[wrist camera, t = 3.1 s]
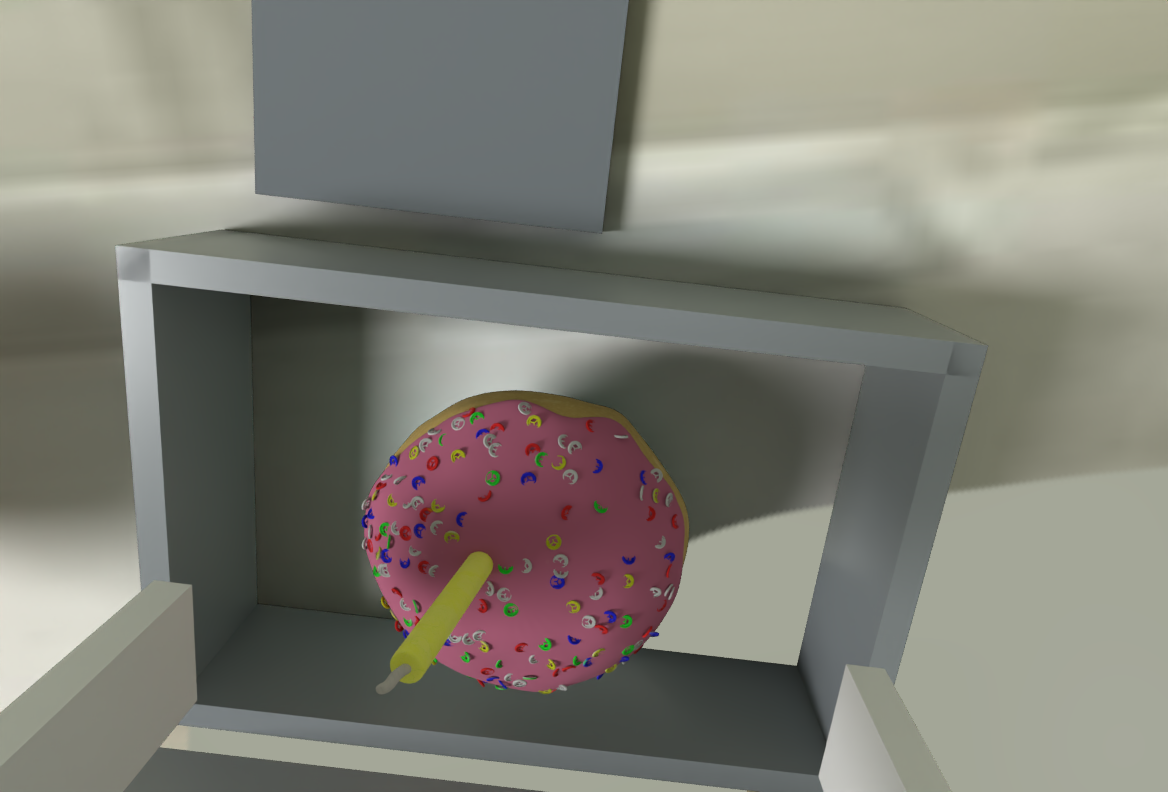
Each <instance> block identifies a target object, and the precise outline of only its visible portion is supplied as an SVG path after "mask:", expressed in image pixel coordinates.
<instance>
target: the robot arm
mask: <svg viewBox="0 0 1168 792" xmlns="http://www.w3.org/2000/svg"><path fill="white" fill-rule="evenodd" d="M196 701H197V684H196V662H195V640H194V618H193V596H192V585H190V584H181V583H173V582H165V581H157V580H154V581H153V582H151V583H150V584H149V585H148V586H147V587H146V588H145V589H143V590H142V591H141V592H140V593H139V594H138V595H136V596H135V597H134V598H133V599H132V600H131V601H129V602H128V603H127V604H126V605H125V606H124V607H122V608H121V609H120V610H119V611H118V612H117V613H116V614H114V615H113V616H112V617H111V618H110V619H109V620H107V621H106V622H105V623H104V624H103V625H102V626H100V627H99V628H98V629H97V630H96V631H95V632H93V633H92V634H91V635H90V636H89V637H88V638H87V639H85V640H84V641H83V642H82V643H81V644H80V645H78V646H77V647H76V648H75V649H74V650H73V651H71V652H70V653H69V654H68V655H67V656H66V657H64V658H63V659H62V660H61V661H60V662H59V663H58V664H56V665H55V666H54V667H53V668H52V669H51V670H49V671H48V672H47V673H46V674H45V675H44V676H42V677H41V678H40V679H39V680H38V681H37V682H35V683H34V684H33V685H32V686H31V687H30V688H29V689H27V690H26V691H25V692H24V693H23V694H22V695H20V696H19V697H18V698H17V699H16V700H15V701H13V702H12V703H11V704H10V705H9V706H8V707H6V708H5V709H4V710H3V711H2V712H1V713H0V792H123V791H124V790H125V789H126V788H127V786H128V785H129V784H130V783H131V781H132V780H133V779H134V778H135V776H136V775H137V774H138V773H139V772H140V770H141V769H142V768H143V767H144V765H145V764H146V763H147V762H148V760H149V759H150V758H151V757H152V755H153V754H154V753H155V752H156V751H157V749H158V748H159V747H160V746H161V744H162V743H163V742H164V741H165V739H166V738H167V737H168V736H169V734H170V733H171V732H172V731H173V730H174V728H175V727H176V726H177V725H178V723H179V722H180V721H181V720H182V718H183V717H184V716H185V715H186V713H187V712H188V711H189V710H190V709H191V707H192V706H193V705H194V704H195V702H196ZM818 777H819V780H820V783H821V786H822V789H823V792H952V791H951V789H950V787H949V785H948V783H947V781H946V780H945V778H944V776H943V774H942V772H941V770H940V769H939V767H938V765H937V763H936V761H935V760H934V758H933V756H932V754H931V752H930V750H929V749H928V747H927V745H926V743H925V742H924V740H923V738H922V736H921V734H920V732H919V730H918V729H917V727H916V725H915V723H914V721H913V720H912V718H911V716H910V714H909V712H908V710H907V709H906V707H905V705H904V703H903V701H902V699H901V698H900V696H899V694H898V692H897V691H896V689H895V687H894V685H893V683H892V681H891V679H890V678H889V676H888V674H887V672H886V670H885V669H882V668H874V667H866V666H858V665H849V664H846V666H845V671H844V675H843V679H842V683H841V687H840V691H839V695H838V699H837V703H836V707H835V711H834V715H833V719H832V723H831V727H830V731H829V735H828V739H827V743H826V748H825V752H824V756H823V760H822V764H821V768H820V772H819V776H818Z"/></svg>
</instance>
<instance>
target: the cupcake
mask: <svg viewBox="0 0 1168 792" xmlns="http://www.w3.org/2000/svg"><path fill="white" fill-rule="evenodd" d="M365 503H366V504H365ZM366 505H367V506H366ZM362 510H366V513H365V516H364V517H363V518H362V526H363V527H364V540H363V542H362V548H363V549H364V550H366V552H367V555H368V558H369V561H370V564H371V567H372V570H373V574H374V576H375V579H376V581H377V583H378V586H379V588H380V590H381V592H382V594H383V596H382V598H381V603H382V605H383V607H384V608H386V609H389V608H391V610H390V612H391V614H392V616H393V617H394V618H395V619H396V622H395V629H396V630H397V631H398V632H401V631H403V636H404V638H405V640H404V642H403V643H402V644H401V646H400V647H399V648H398V650H397V651H396V652H395V654H394V655H393V657H392V659H391V661H390V669H391V673H390V675H389V676H388V677H387V679H386V680H385V681H384V682H382V683H380V684H379V685H377V686H376V692H377V693H378V694H386V693H388V692H390V691H391V690H392V689H393V688H394V687H395V686H396V685H397V683H398V682H399V681H401V682H403V683H407V684H411V683H415V682H417V681H419V680H420V679H421V678H422V677H423V675H424V674H425V672H426V671H427V669H428V668H429V666H430V665H431V663H432V664H433V665H436V664H437V661H438V662H440V663H442V664H444V665H445V666H447V667H449V668H451V669H453V670H455V671H457V672H459V673H461V674H464V675H466V676H467V677H468V678H472V679H477V681H478V682H479V683H480V684H481V686H482V687H485V684H484V683H491V684H495V688H496V689H499V690H506V689H508V688H512V689H517V690H523V691H530V692H540V693H542V694H549V693H552V692H554V691H556V690H557V689H558V690H561V691H566V690H567V687H566V686H570V685H573V684H577V683H580V682H583V681H586V680H589V679H591V678H594V677H596V676H597V680H599V679H600V678H601V677H602V676H603V674H604V673H605V672H606V673H610V672H612V671H614V670H615V669H616V668H617V665H618V664H620V663H621V662H622V664H626V662H627V661H628V660H629V657H630V655H632V654H633V653H634V654H636V653H637V652H638V651H639V650H640V649H641V648H642V646H643V644H644V643H645V642H646V641H647V640H648V639H649V637H655V636H658V635H659V633H657V632H655V630H656V629H657V628H658V626H659V625H660V623H661V622H662V620H663V618H664V617H665V615H666V614H667V612H668V610H669V609H670V607H671V605H672V603H673V601H674V599H675V597H676V594H677V591H678V588H679V584H680V579H681V575H682V567H683V564H684V560H685V556H686V552H687V547H688V540H689V519H688V513H687V509H686V506H685V503H684V501H683V498H682V496H681V494H680V492H679V491H678V489H677V487H676V485H675V484H674V482H673V481H672V479H671V477H670V476H669V474H668V473H667V471H666V470H665V468H664V467H663V466H662V464H661V463H660V461H659V460H658V458H657V457H656V455H655V454H654V453H653V451H652V450H651V449H650V447H649V446H648V445H647V443H646V442H645V441H644V440H643V438H642V437H641V436H640V434H639V433H638V432H637V431H636V429H635V428H634V427H633V426H632V424H631V423H630V422H629V421H628V420H627V419H626V418H625V417H624V416H623V415H622V414H620V413H619V412H617V411H616V410H614V409H611V408H608V407H605V406H601V405H596V404H592V403H588V402H584V401H581V400H577V399H574V398H570V397H565V396H560V395H554V394H548V393H541V392H533V391H517V390H513V391H498V392H490V393H484V394H480V395H476V396H472V397H469V398H466V399H464V400H461V401H459V402H457V403H455V404H454V405H452V406H450V407H448V408H447V409H445V410H444V411H442V412H440V413H439V414H437V415H436V416H434V417H433V418H431V419H429V420H428V421H426V422H425V423H423V424H422V425H420V426H419V427H418V428H417V429H416V430H415V431H414V432H413V433H412V434H411V435H410V436H409V437H408V439H407V440H406V441H405V442H404V443H403V445H402V446H401V447H400V448H399V449H398V451H397V452H396V453H395V454H394V455H393V456H391V457H390V461H389V463H388V465H387V466H386V468H385V471H384V472H383V473H382V474H381V475H380V477H379V478H378V480H377V481H376V482H375V484H374V485H373V487H372V489H371V491H370V494H369V497H367V498H366V499H365V500H364V501H363V503H362ZM385 599H386V600H385ZM384 601H385V602H386V604H385V603H384ZM387 603H388V605H387ZM398 622H400V624H398ZM398 625H399V626H400V628H398ZM401 625H402V626H401ZM403 629H404V630H403ZM406 634H407V635H408V637H407V636H406ZM499 686H501V687H499ZM545 691H546V692H545Z"/></svg>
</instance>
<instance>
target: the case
mask: <svg viewBox="0 0 1168 792" xmlns="http://www.w3.org/2000/svg"><path fill="white" fill-rule="evenodd" d="M115 249H116V262H117V276H118V289H119V302H120V315H121V329H122V342H123V355H124V368H125V382H126V395H127V408H128V421H129V435H130V448H131V461H132V474H133V488H134V501H135V514H136V527H137V541H138V554H139V567H140V580H141V591H142V590H143V589H145V588H146V587H147V586H148V585H149V584H150V583H151V582H153V581H154V580H157V581H165V582H173V583H181V584H190V585H192V596H193V618H194V640H195V662H196V684H197V701H196V702H195V704H194V705H193V706H192V707H191V709H190V710H189V711H188V712H187V713H186V715H185V716H184V717H183V718H182V720H181V721H180V722H179V723H178V725H183V726H191V727H200V728H209V729H218V730H226V731H235V732H244V733H253V734H261V735H270V736H279V737H287V738H297V739H305V740H313V741H322V742H331V743H340V744H348V745H358V746H366V747H374V748H384V749H392V750H400V751H409V752H418V753H426V754H435V755H445V756H453V757H461V758H470V759H479V760H488V761H497V762H506V763H513V764H523V765H531V766H540V767H549V768H558V769H566V770H575V771H583V772H592V773H601V774H610V775H618V776H627V777H635V778H644V779H653V780H662V781H671V782H679V783H687V784H696V785H705V786H713V787H723V788H731V789H740V790H747V792H823V789H822V786H821V783H820V780H819V777H818V776H819V772H820V768H821V764H822V760H823V756H824V752H825V748H826V743H827V739H828V735H829V731H830V727H831V723H832V719H833V715H834V711H835V707H836V703H837V699H838V695H839V691H840V687H841V683H842V679H843V675H844V671H845V666H846V664H849V665H858V666H866V667H874V668H882V669H885V670H886V672H887V674H888V676H889V678H890V679H891V681H892V683H893V685H894V684H895V680H896V676H897V673H898V669H899V666H900V662H901V658H902V655H903V651H904V648H905V644H906V640H907V637H908V633H909V630H910V626H911V622H912V619H913V615H914V612H915V608H916V604H917V601H918V597H919V594H920V590H921V586H922V583H923V579H924V575H925V572H926V568H927V565H928V561H929V557H930V554H931V550H932V547H933V543H934V539H935V536H936V532H937V529H938V525H939V521H940V518H941V514H942V511H943V507H944V503H945V499H946V496H947V493H948V489H949V485H950V482H951V478H952V475H953V471H954V467H955V464H956V460H957V457H958V453H959V449H960V446H961V442H962V439H963V435H964V431H965V428H966V424H967V421H968V417H969V413H970V410H971V406H972V402H973V399H974V395H975V392H976V388H977V384H978V381H979V377H980V374H981V370H982V366H983V363H984V359H985V356H986V352H987V348H988V345H986V344H983V343H981V342H979V341H977V340H975V339H972V338H970V337H968V336H966V335H964V334H962V333H959V332H957V331H955V330H953V329H951V328H948V327H946V326H944V325H942V324H940V323H938V322H935V321H933V320H931V319H929V318H927V317H924V316H922V315H920V314H918V313H916V312H913V311H911V310H909V309H907V308H900V307H892V306H883V305H874V304H865V303H857V302H848V301H839V300H831V299H822V298H813V297H805V296H796V295H787V294H778V293H770V292H761V291H752V290H744V289H735V288H726V287H718V286H709V285H700V284H691V283H683V282H674V281H665V280H657V279H648V278H639V277H631V276H622V275H613V274H604V273H596V272H587V271H578V270H570V269H561V268H552V267H544V266H535V265H526V264H517V263H509V262H500V261H491V260H483V259H474V258H465V257H457V256H448V255H439V254H430V253H422V252H413V251H404V250H396V249H387V248H378V247H370V246H361V245H352V244H343V243H335V242H326V241H317V240H309V239H300V238H291V237H283V236H274V235H265V234H256V233H248V232H239V231H230V230H216V231H209V232H203V233H196V234H189V235H182V236H175V237H169V238H162V239H155V240H148V241H141V242H135V243H128V244H121V245H115ZM250 295H258V296H267V297H276V298H284V299H293V300H302V301H310V302H319V303H328V304H336V305H345V306H354V307H363V308H371V309H380V310H389V311H397V312H406V313H415V314H423V315H432V316H441V317H450V318H458V319H467V320H476V321H484V322H493V323H502V324H510V325H519V326H528V327H537V328H545V329H554V330H563V331H571V332H580V333H589V334H597V335H606V336H615V337H624V338H632V339H641V340H650V341H658V342H667V343H676V344H684V345H693V346H702V347H711V348H719V349H728V350H737V351H745V352H754V353H763V354H771V355H780V356H789V357H798V358H806V359H815V360H824V361H832V362H841V363H850V364H858V365H866V367H865V371H864V376H863V380H862V384H861V389H860V393H859V397H858V402H857V406H856V410H855V415H854V419H853V424H852V428H851V432H850V437H849V441H848V445H847V450H846V454H845V458H844V463H843V467H842V472H841V476H840V480H839V485H838V489H837V493H836V498H835V502H834V506H833V511H832V515H831V519H830V524H829V528H828V533H827V537H826V541H825V546H824V550H823V555H822V559H821V563H820V568H819V572H818V577H817V581H816V585H815V589H814V594H813V598H812V602H811V607H810V611H809V615H808V621H807V624H806V628H805V633H804V638H803V642H802V646H801V650H800V655H799V659H798V663H797V666H792V665H784V664H776V663H766V662H758V661H750V660H741V659H733V658H724V657H715V656H706V655H697V654H689V653H680V652H672V651H663V650H654V649H646V648H641V649H640V650H639V651H638V652H637V653H636V654H634V653H633V654H632V655H630V657H629V660H628V661H627V662H626V664H622V662H621V663H620V664H618V665H617V668H616V669H615V670H614V671H612V672H610V673H606V672H605V673H604V674H603V676H602V677H601V678H600V679H599V680H597V676H596V677H594V678H591V679H589V680H586V681H583V682H580V683H577V684H573V685H570V686H566V687H567V690H566V691H561V690H558V689H557V690H556V691H554V692H552V693H549V694H542V693H540V692H530V691H523V690H517V689H512V688H508V689H506V690H499V689H496V688H495V684H491V683H484V684H485V687H482V686H481V684H480V683H479V682H478V681H477V679H472V678H468V677H467V676H466V675H464V674H461V673H459V672H457V671H455V670H453V669H451V668H449V667H447V666H445V665H444V664H442V663H440V662H438V661H437V664H436V665H433V664H432V663H431V665H430V666H429V668H428V669H427V671H426V672H425V674H424V675H423V677H422V678H421V679H420V680H419V681H417V682H415V683H411V684H407V683H403V682H401V681H399V682H398V683H397V685H396V686H395V687H394V688H393V689H392V690H391V691H390V692H388V693H386V694H378V693H377V692H376V686H377V685H379V684H380V683H382V682H384V681H385V680H386V679H387V677H388V676H389V675H390V673H391V669H390V661H391V659H392V657H393V655H394V654H395V652H396V651H397V650H398V648H399V647H400V646H401V644H402V643H403V642H404V640H405V638H404V636H403V631H401V632H398V631H397V630H396V629H395V622H396V620H393V619H385V618H376V617H367V616H358V615H350V614H341V613H332V612H324V611H315V610H306V609H298V608H289V607H280V606H271V605H263V604H257V562H256V519H255V475H254V432H253V388H252V345H251V301H250ZM398 624H400V622H398ZM401 626H402V625H401ZM398 628H400V626H399V625H398ZM403 630H404V629H403ZM406 636H407V637H408V635H407V634H406ZM499 687H501V686H499ZM545 692H546V691H545Z"/></svg>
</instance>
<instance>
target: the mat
mask: <svg viewBox="0 0 1168 792" xmlns="http://www.w3.org/2000/svg"><path fill="white" fill-rule="evenodd" d="M628 2H629V0H252V45H253V95H254V145H255V194H262V195H270V196H279V197H288V198H297V199H305V200H314V201H323V202H331V203H340V204H349V205H357V206H366V207H375V208H384V209H392V210H401V211H410V212H418V213H427V214H436V215H444V216H453V217H462V218H471V219H479V220H488V221H497V222H505V223H514V224H523V225H531V226H540V227H549V228H558V229H566V230H575V231H584V232H592V233H601V234H602V229H603V220H604V212H605V203H606V194H607V185H608V177H609V168H610V159H611V151H612V142H613V133H614V124H615V116H616V107H617V98H618V90H619V81H620V72H621V63H622V55H623V46H624V37H625V29H626V20H627V11H628Z"/></svg>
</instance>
